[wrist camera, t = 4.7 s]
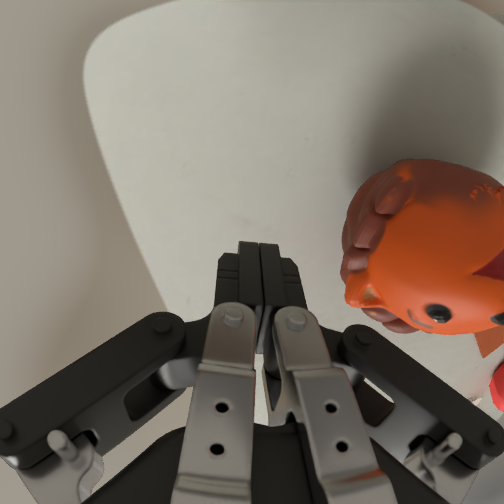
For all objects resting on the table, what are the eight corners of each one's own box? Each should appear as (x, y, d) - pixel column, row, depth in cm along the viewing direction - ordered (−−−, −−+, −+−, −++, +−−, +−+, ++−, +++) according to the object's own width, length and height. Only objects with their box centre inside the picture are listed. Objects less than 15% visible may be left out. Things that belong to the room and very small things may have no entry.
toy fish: (487, 161, 18) (600, 245, 8) (440, 279, 23) (507, 388, 14) (340, 117, 16) (458, 199, 7) (305, 270, 22) (341, 419, 12)
